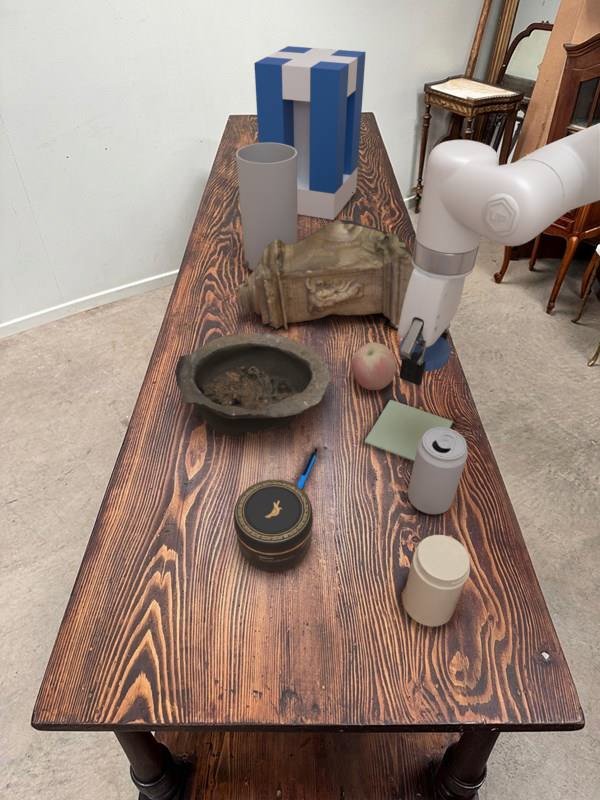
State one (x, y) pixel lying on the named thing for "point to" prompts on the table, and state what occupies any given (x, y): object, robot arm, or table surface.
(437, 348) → the jar lid
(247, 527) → the jar
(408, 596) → the jam jar
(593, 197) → the robot arm
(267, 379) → the stone bowl
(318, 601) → the table surface
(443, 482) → the beverage can
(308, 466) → the pen
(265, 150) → the cylinder vase
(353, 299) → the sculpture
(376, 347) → the apple
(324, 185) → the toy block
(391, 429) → the coaster
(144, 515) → the table surface
